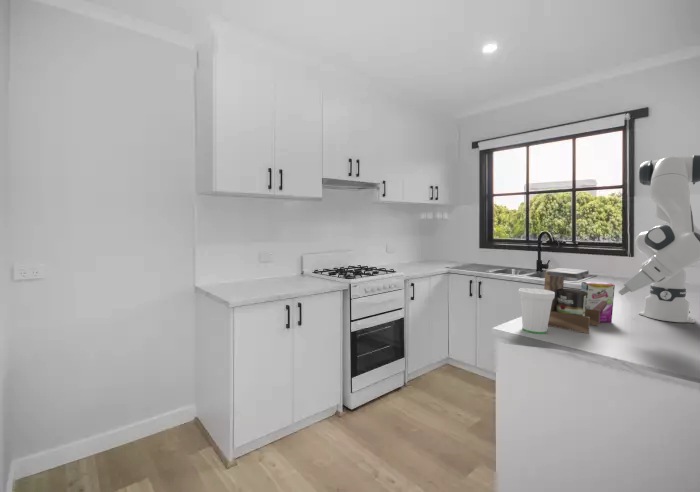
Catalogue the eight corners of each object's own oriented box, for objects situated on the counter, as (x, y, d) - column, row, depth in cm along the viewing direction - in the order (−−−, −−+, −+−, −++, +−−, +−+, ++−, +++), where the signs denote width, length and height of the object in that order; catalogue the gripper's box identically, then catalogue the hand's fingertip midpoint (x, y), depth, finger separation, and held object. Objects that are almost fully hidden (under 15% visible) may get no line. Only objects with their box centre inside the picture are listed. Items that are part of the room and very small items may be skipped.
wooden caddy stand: (557, 317, 160) (559, 267, 159) (599, 325, 149) (602, 271, 147) (542, 324, 148) (545, 270, 146) (587, 333, 136) (591, 275, 135)
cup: (548, 327, 143) (551, 289, 142) (556, 336, 132) (558, 295, 131) (514, 324, 147) (516, 287, 146) (518, 333, 135) (520, 292, 134)
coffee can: (573, 329, 141) (576, 293, 140) (549, 322, 151) (551, 289, 150) (590, 327, 146) (592, 292, 145) (565, 320, 155) (567, 287, 154)
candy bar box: (584, 321, 154) (587, 283, 153) (578, 318, 159) (580, 281, 158) (612, 322, 152) (615, 284, 151) (605, 319, 157) (608, 282, 156)
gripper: (653, 261, 137) (619, 283, 144) (644, 265, 123) (607, 289, 130) (668, 274, 134) (633, 296, 141) (660, 279, 120) (622, 304, 127)
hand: (620, 293), depth 136 cm, fingers closed
